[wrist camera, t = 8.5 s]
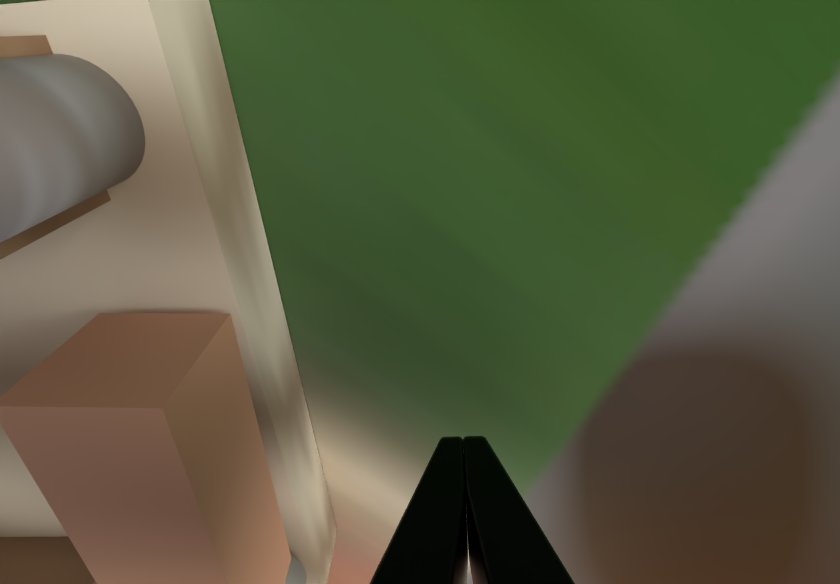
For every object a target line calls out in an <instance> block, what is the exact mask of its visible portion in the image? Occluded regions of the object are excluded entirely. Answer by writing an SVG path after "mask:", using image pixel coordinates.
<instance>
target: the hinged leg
mask: <svg viewBox="0 0 840 584" xmlns="http://www.w3.org/2000/svg"><path fill="white" fill-rule="evenodd" d="M0 424H1V426H2V428H3V429H4V431H5V433H6V434H7V436H8V438H9V439H10V441H11V443H12V444H13V446H14V447H15V449H16V451H17V452H18V454H19V456H20V457H21V459H22V461H23V462H24V464H25V466H26V467H27V469H28V471H29V472H30V474H31V476H32V477H33V479H34V481H35V482H36V484H37V486H38V487H39V489H40V490H41V492H42V494H43V495H44V497H45V499H46V500H47V502H48V504H49V505H50V507H51V509H52V510H53V512H54V514H55V515H56V517H57V519H58V520H59V522H60V524H61V525H62V527H63V529H64V530H65V532H66V534H67V535H68V537H69V538H70V540H71V542H72V543H73V545H74V547H75V548H76V550H77V552H78V553H79V555H80V557H81V558H82V560H83V562H84V563H85V565H86V567H87V568H88V570H89V572H90V573H91V575H92V577H93V578H94V580H95V581H96V583H97V584H306V572H305V569H304V568H303V566H302V564H301V563H300V562H299V561H298V560H297V559H296V558H295V557H294V556H293V555H292V554H290V550H289V546H288V542H287V538H286V534H285V530H284V526H283V522H282V518H281V514H280V510H279V506H278V502H277V498H276V494H275V490H274V486H273V482H272V478H271V474H270V470H269V466H268V462H267V458H266V454H265V450H264V446H263V442H262V438H261V434H260V430H259V426H258V422H257V418H256V414H255V410H254V406H253V402H252V398H251V394H250V390H249V386H248V382H247V378H246V374H245V370H244V366H243V362H242V358H241V354H240V350H239V346H238V342H237V338H236V334H235V330H234V326H233V322H232V318H231V314H199V313H99V314H98V315H96V316H95V317H94V318H93V319H92V320H90V321H89V322H88V323H87V324H86V325H85V326H83V327H82V328H81V329H80V330H79V331H78V332H76V333H75V334H74V335H73V336H72V337H70V338H69V339H68V340H67V341H66V342H65V343H63V344H62V345H61V346H60V347H59V348H58V349H56V350H55V351H54V352H53V353H52V354H50V355H49V356H48V357H47V358H46V359H45V360H43V361H42V362H41V363H40V364H39V365H38V366H36V367H35V368H34V369H33V370H32V371H30V372H29V373H28V374H27V375H26V376H25V377H23V378H22V379H21V380H20V381H19V382H18V383H16V384H15V385H14V386H13V387H12V388H10V389H9V390H8V391H7V392H6V393H5V394H3V395H2V396H1V397H0Z"/></svg>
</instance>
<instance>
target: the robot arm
mask: <svg viewBox="0 0 840 584" xmlns="http://www.w3.org/2000/svg"><path fill="white" fill-rule="evenodd" d="M463 449H464V453H463ZM464 472H465V473H464ZM465 492H466V493H465ZM466 513H467V516H466ZM467 533H468V539H467ZM468 550H469V560H470V567H471V574H472V580H473V584H575V583H574V582H573V580H572V578H571V577H570V575H569V573H568V572H567V570H566V568H565V567H564V565H563V564H562V562H561V560H560V559H559V557H558V555H557V554H556V552H555V551H554V549H553V547H552V546H551V544H550V542H549V541H548V539H547V537H546V536H545V534H544V532H543V531H542V529H541V528H540V526H539V524H538V523H537V521H536V519H535V518H534V516H533V515H532V513H531V511H530V510H529V508H528V506H527V505H526V503H525V501H524V500H523V498H522V497H521V495H520V493H519V492H518V490H517V488H516V487H515V485H514V483H513V482H512V480H511V479H510V477H509V475H508V474H507V472H506V470H505V469H504V467H503V466H502V464H501V462H500V461H499V459H498V457H497V456H496V454H495V452H494V451H493V449H492V448H491V446H490V444H489V443H488V441H487V439H486V438H485V437H483V436H466V437H464V439H462V438H461V437H443V438H441V439H440V441H439V443H438V445H437V447H436V449H435V451H434V453H433V455H432V457H431V459H430V461H429V463H428V465H427V467H426V469H425V471H424V473H423V475H422V477H421V480H420V482H419V484H418V486H417V488H416V490H415V492H414V494H413V496H412V498H411V500H410V502H409V504H408V506H407V508H406V510H405V512H404V514H403V516H402V518H401V520H400V522H399V524H398V527H397V529H396V531H395V533H394V535H393V537H392V539H391V541H390V543H389V545H388V547H387V549H386V551H385V553H384V555H383V557H382V559H381V561H380V563H379V565H378V567H377V569H376V571H375V573H374V576H373V578H372V580H371V582H370V584H467V569H468Z"/></svg>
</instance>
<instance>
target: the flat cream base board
mask: <svg viewBox="0 0 840 584" xmlns="http://www.w3.org/2000/svg"><path fill="white" fill-rule="evenodd" d="M99 313H199V314H231V318H232V322H233V326H234V330H235V334H236V338H237V342H238V346H239V350H240V354H241V358H242V362H243V366H244V370H245V374H246V378H247V382H248V386H249V390H250V394H251V398H252V402H253V406H254V410H255V414H256V418H257V422H258V426H259V430H260V434H261V438H262V442H263V446H264V450H265V454H266V458H267V462H268V466H269V470H270V474H271V478H272V482H273V486H274V490H275V494H276V498H277V502H278V506H279V510H280V514H281V518H282V522H283V526H284V530H285V534H286V538H287V542H288V546H289V550H290V554H292V555H293V556H294V557H295V558H296V559H297V560H298V561H299V562H300V563H301V564H302V566H303V568H304V569H305V572H306V584H327V579H328V574H329V570H330V565H331V560H332V555H333V550H334V545H335V540H336V535H337V528H336V524H335V520H334V515H333V511H332V507H331V503H330V499H329V495H328V491H327V487H326V482H325V478H324V474H323V470H322V466H321V462H320V458H319V453H318V449H317V445H316V441H315V437H314V433H313V429H312V425H311V420H310V416H309V412H308V408H307V404H306V400H305V396H304V392H303V387H302V383H301V379H300V375H299V371H298V367H297V363H296V358H295V354H294V350H293V346H292V342H291V338H290V334H289V330H288V325H287V321H286V317H285V313H284V309H283V305H282V301H281V296H280V292H279V288H278V284H277V280H276V276H275V272H274V268H273V263H272V259H271V255H270V251H269V247H268V243H267V239H266V234H265V230H264V226H263V222H262V218H261V214H260V210H259V206H258V201H257V197H256V193H255V189H254V185H253V181H252V177H251V172H250V168H249V164H248V160H247V156H246V152H245V148H244V144H243V139H242V135H241V131H240V127H239V123H238V119H237V115H236V111H235V106H234V102H233V98H232V94H231V90H230V86H229V82H228V77H227V73H226V69H225V65H224V61H223V57H222V53H221V49H220V44H219V40H218V36H217V32H216V28H215V24H214V20H213V15H212V11H211V7H210V3H209V0H48V1H36V2H25V3H13V4H2V5H0V397H1V396H2V395H3V394H5V393H6V392H7V391H8V390H9V389H10V388H12V387H13V386H14V385H15V384H16V383H18V382H19V381H20V380H21V379H22V378H23V377H25V376H26V375H27V374H28V373H29V372H30V371H32V370H33V369H34V368H35V367H36V366H38V365H39V364H40V363H41V362H42V361H43V360H45V359H46V358H47V357H48V356H49V355H50V354H52V353H53V352H54V351H55V350H56V349H58V348H59V347H60V346H61V345H62V344H63V343H65V342H66V341H67V340H68V339H69V338H70V337H72V336H73V335H74V334H75V333H76V332H78V331H79V330H80V329H81V328H82V327H83V326H85V325H86V324H87V323H88V322H89V321H90V320H92V319H93V318H94V317H95V316H96V315H98V314H99ZM0 584H97V583H96V581H95V580H94V578H93V577H92V575H91V573H90V572H89V570H88V568H87V567H86V565H85V563H84V562H83V560H82V558H81V557H80V555H79V553H78V552H77V550H76V548H75V547H74V545H73V543H72V542H71V540H70V538H69V537H68V535H67V534H66V532H65V530H64V529H63V527H62V525H61V524H60V522H59V520H58V519H57V517H56V515H55V514H54V512H53V510H52V509H51V507H50V505H49V504H48V502H47V500H46V499H45V497H44V495H43V494H42V492H41V490H40V489H39V487H38V486H37V484H36V482H35V481H34V479H33V477H32V476H31V474H30V472H29V471H28V469H27V467H26V466H25V464H24V462H23V461H22V459H21V457H20V456H19V454H18V452H17V451H16V449H15V447H14V446H13V444H12V443H11V441H10V439H9V438H8V436H7V434H6V433H5V431H4V429H3V428H2V426H1V424H0Z"/></svg>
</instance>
